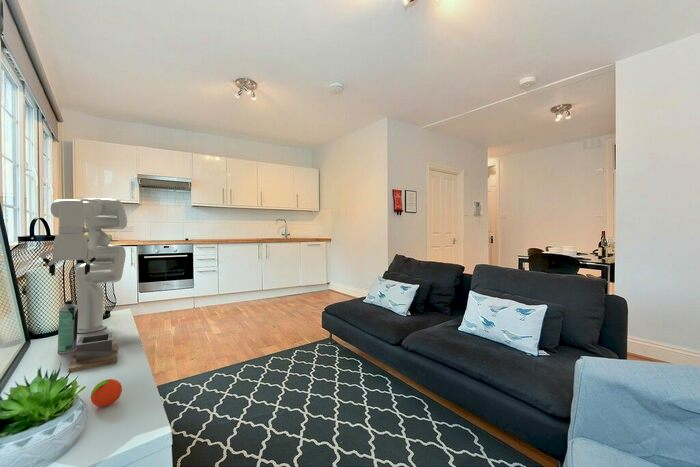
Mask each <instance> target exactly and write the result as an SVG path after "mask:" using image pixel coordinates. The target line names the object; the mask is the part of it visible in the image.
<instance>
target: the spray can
mask: <svg viewBox="0 0 700 467" xmlns="http://www.w3.org/2000/svg"><path fill="white" fill-rule="evenodd" d="M58 310H59V311H58V334H57V336H58V337H57V338H58V340H57V353H58V354H60V355H63V354H64V355H65V354H70V353H74V351H75V349H77V343H78V333H77V327H78V305H77V304H75V303H74V302H73V300H72V299H68V300H66V301H65V303H64V304H63V305H61V306H60V307H59V309H58Z"/></svg>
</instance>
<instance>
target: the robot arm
mask: <svg viewBox="0 0 700 467" xmlns="http://www.w3.org/2000/svg"><path fill="white" fill-rule="evenodd" d="M50 212H51V214H52V216H53V217H54V218H56V219H58V234H55V237H54V240H53V247H52V248H51V249H49V250H46V251H44V252H42V253H39V257H40V258H41V260H42V261H43V262H44V263H45V264H47V265H48V267H49V268H48V274H50V276H51V277H52V276H56V262H57V261H83V262H84V263H82V264H80V265H78V266H77V267H76V269H75V278H76V285H77V286H76V287H77V297H76V298H77V302H76V305H78V327H77V334H88V333H94V332H98V331H102V330H104V329H106V328H107V324H106V323H104V322H103V321H104V319H103V318H104V316H103V315H104V294H105V292H104V289H103V288H102V287H101V286H100V285H99V284H102V283H103V284H105V283H110V284H111V283H117V282H119V281H120V280H121V279H122V277H123V274H124V267H125V262H126V256H127V254H126V252H127V251H126V249H125V247H124V246H122V245H118V244H111V241H112V240H111V239H112V238H111V236H109V235H108V234H107V232H105V231H104V230H123V229H125V228H126V227H127V225H128V217H127V214H126V210H125V206H124V204H123V203H122V201H121V200H119V199H116V198H115V199H114V198H101V197H93V198H66V199H65V198H64V199H56V200H54V201H52V203H51V205H50ZM86 233H87V234H86ZM88 238H89V239H88ZM50 254H52V259H51V260H50V259H49V258H48V257H47V256H48V255H50Z"/></svg>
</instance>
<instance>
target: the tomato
mask: <svg viewBox="0 0 700 467" xmlns="http://www.w3.org/2000/svg"><path fill="white" fill-rule="evenodd" d="M122 392H123V387H122V384H121V382H119V381H118V380H117V379H114V378H113V379H112V378H109V379H105V380H101V381H100V382H99V383H97V384H96V385H95V386H94V387H93V388H92V391H91V393H90V401H91V403H92V404H93V405H94V406H96V407H99V408H106V407H109V406H112V405H114V404H115V403H116V402H117V401H118V400H119V399H120V397H121V395H122Z"/></svg>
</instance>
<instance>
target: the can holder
mask: <svg viewBox="0 0 700 467" xmlns="http://www.w3.org/2000/svg"><path fill="white" fill-rule="evenodd" d="M117 350H118V342H115V343H113V332H107V333H100V334H92V335H86V336H85V335H84V336H79V338H78V339H77V349H75V351H74V352H73V354H72V358H71V360H70V363H69V366H68V368H67V369H68V371H67V372H68V373H71V372H70V371H72V372H77V371H82V370H87V369H93V368H98V367H99V368H100V367H103V366H109V365H115V364H117V358H118V355H117V354H118V351H117Z"/></svg>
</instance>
